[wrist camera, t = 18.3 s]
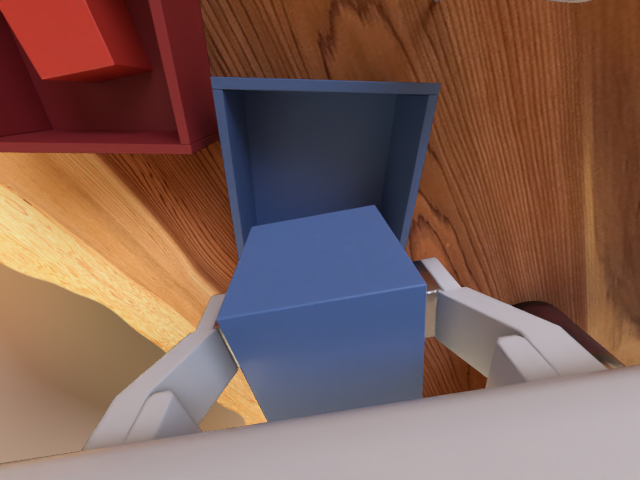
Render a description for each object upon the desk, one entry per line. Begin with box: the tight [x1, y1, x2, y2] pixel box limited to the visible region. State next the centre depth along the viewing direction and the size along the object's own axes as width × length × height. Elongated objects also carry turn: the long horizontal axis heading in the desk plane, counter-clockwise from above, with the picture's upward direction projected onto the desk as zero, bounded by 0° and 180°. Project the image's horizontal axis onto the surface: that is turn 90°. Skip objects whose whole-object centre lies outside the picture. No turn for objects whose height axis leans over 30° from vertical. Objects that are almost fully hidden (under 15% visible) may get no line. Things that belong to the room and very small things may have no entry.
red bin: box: [0, 0, 220, 154], centre depth 16 cm, size 13×13×6 cm
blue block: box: [216, 205, 427, 422], centre depth 8 cm, size 4×4×4 cm
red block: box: [0, 0, 153, 83], centre depth 16 cm, size 4×4×4 cm
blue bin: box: [210, 77, 441, 260], centre depth 21 cm, size 13×13×6 cm
